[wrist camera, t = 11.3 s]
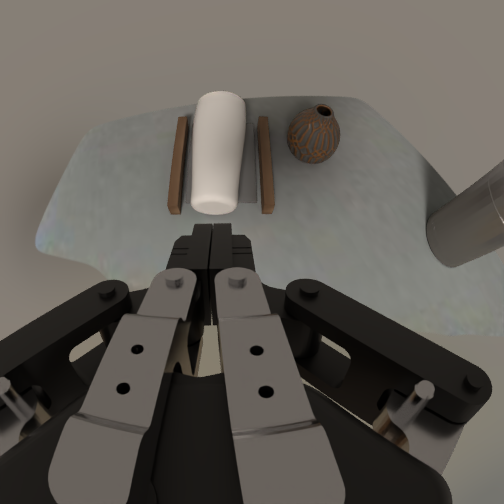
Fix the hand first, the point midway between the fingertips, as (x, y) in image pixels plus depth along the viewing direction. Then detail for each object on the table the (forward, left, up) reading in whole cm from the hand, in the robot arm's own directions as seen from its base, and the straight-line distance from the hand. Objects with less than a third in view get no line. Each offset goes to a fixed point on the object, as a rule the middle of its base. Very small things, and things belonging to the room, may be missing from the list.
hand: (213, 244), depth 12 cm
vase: (-12, -21, -21) cm, 32 cm away
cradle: (0, -18, -21) cm, 28 cm away
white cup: (+1, -10, -18) cm, 21 cm away
